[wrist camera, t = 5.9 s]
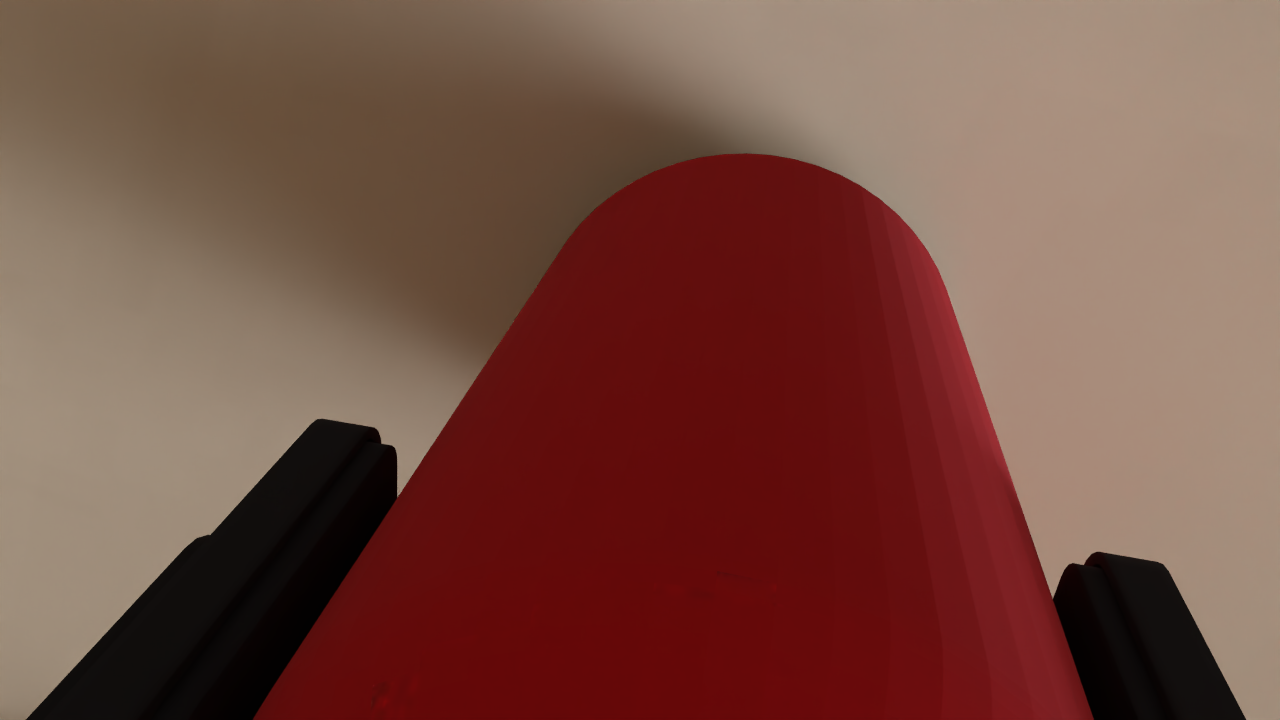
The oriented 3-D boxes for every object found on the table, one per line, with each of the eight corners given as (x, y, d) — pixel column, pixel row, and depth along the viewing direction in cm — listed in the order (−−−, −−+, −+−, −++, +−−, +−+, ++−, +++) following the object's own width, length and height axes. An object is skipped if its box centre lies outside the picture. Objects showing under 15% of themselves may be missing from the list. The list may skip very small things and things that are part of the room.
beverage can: (477, 330, 17) (-118, 1151, 6) (738, 42, 14) (522, 564, 3) (746, 555, 18) (657, 1586, 7) (1032, 326, 15) (1575, 1394, 4)
